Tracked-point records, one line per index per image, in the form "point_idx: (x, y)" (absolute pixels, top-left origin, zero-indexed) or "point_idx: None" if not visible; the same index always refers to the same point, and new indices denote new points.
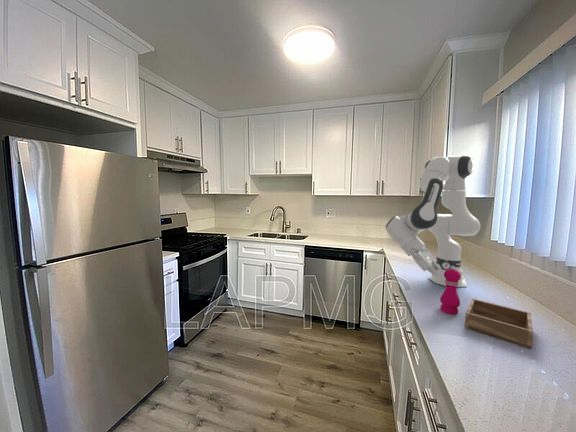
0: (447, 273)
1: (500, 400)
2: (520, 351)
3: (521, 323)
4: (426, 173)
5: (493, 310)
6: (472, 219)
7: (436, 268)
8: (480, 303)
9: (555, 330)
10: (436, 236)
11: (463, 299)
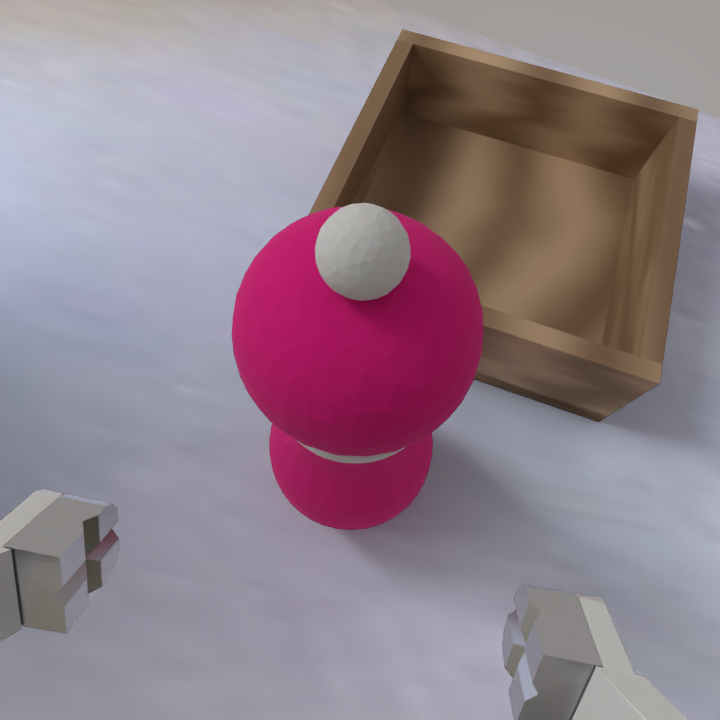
0: (442, 400)
1: None
2: (699, 230)
3: (398, 120)
4: None
5: (355, 189)
6: None
7: (84, 553)
8: None
9: (364, 30)
10: None
11: (58, 307)
